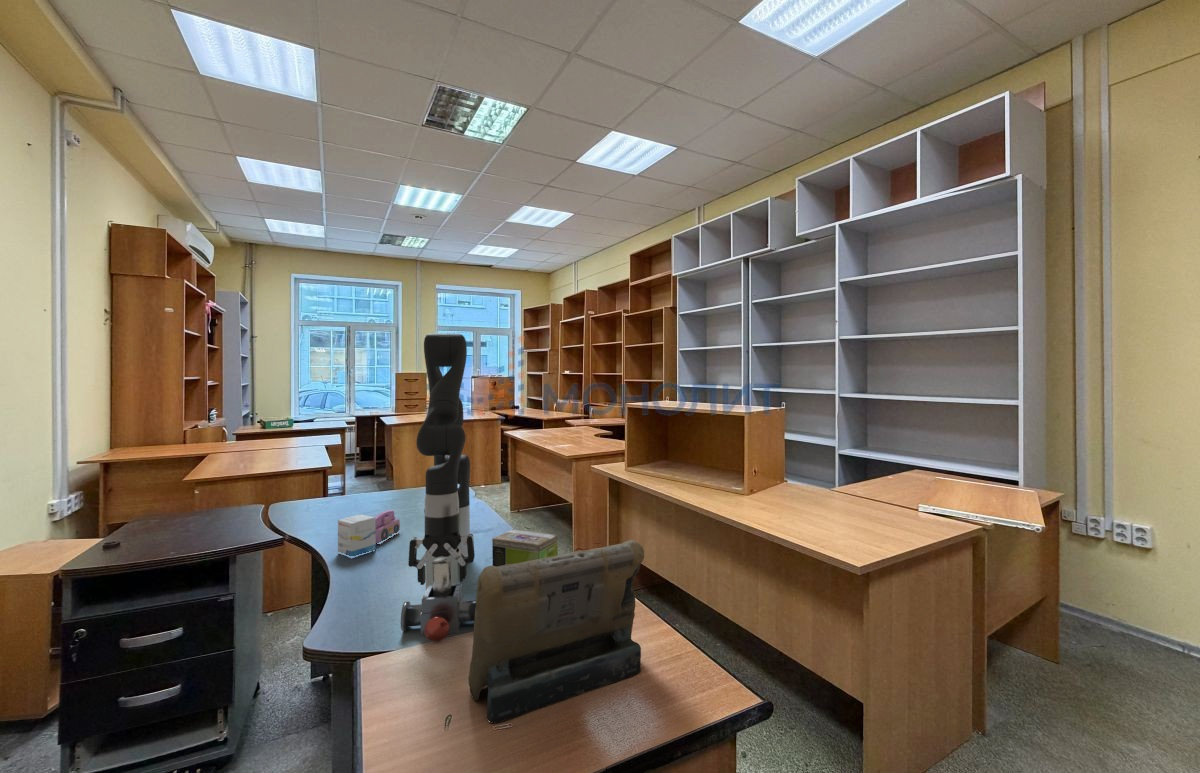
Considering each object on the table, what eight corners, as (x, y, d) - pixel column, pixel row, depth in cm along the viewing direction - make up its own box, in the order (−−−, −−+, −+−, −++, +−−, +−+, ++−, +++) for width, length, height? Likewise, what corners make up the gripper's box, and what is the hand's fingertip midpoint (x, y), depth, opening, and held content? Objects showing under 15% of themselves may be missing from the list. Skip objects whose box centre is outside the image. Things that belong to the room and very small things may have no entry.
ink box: (376, 551, 158) (376, 517, 158) (351, 559, 151) (351, 523, 151) (361, 547, 163) (361, 513, 163) (337, 554, 156) (336, 519, 156)
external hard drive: (458, 590, 127) (458, 544, 127) (426, 598, 123) (426, 550, 123) (456, 588, 129) (456, 543, 129) (425, 596, 124) (424, 548, 124)
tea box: (559, 588, 129) (558, 533, 129) (539, 603, 120) (539, 545, 120) (513, 579, 135) (513, 527, 135) (491, 593, 126) (491, 537, 126)
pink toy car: (380, 546, 164) (380, 517, 164) (363, 546, 164) (362, 517, 164) (406, 531, 181) (406, 504, 181) (390, 530, 182) (390, 504, 182)
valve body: (408, 620, 111) (408, 586, 111) (481, 614, 114) (481, 581, 114) (395, 647, 100) (395, 609, 100) (477, 640, 102) (476, 603, 102)
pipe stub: (435, 599, 110) (434, 558, 109) (452, 598, 111) (452, 557, 110) (431, 608, 106) (430, 566, 105) (450, 607, 107) (449, 564, 106)
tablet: (612, 638, 103) (611, 523, 103) (653, 670, 91) (652, 540, 91) (463, 692, 85) (462, 553, 85) (490, 740, 73) (489, 579, 73)
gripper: (475, 506, 113) (475, 573, 113) (413, 509, 111) (413, 578, 111) (472, 514, 106) (472, 586, 106) (405, 517, 104) (405, 591, 104)
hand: (442, 582), depth 109 cm, fingers open, 8 cm apart
